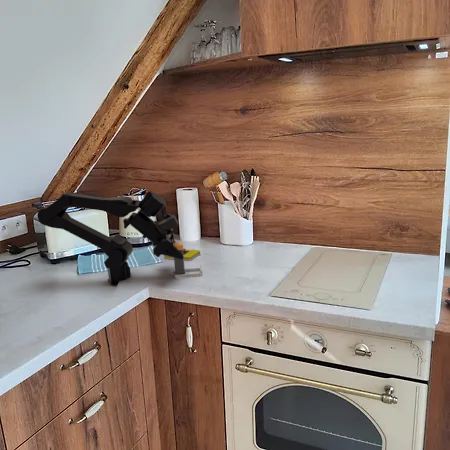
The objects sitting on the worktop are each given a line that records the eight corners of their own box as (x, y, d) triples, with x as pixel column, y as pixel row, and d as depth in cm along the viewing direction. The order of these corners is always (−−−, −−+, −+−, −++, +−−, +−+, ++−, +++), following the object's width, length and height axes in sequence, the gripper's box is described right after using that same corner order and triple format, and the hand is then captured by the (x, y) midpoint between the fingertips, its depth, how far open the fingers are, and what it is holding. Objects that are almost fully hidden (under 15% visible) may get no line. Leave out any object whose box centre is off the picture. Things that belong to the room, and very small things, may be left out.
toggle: (175, 277, 154) (172, 245, 151) (175, 273, 157) (173, 242, 155) (185, 276, 154) (182, 245, 151) (185, 272, 158) (182, 241, 155)
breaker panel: (171, 282, 152) (170, 273, 152) (172, 275, 159) (171, 267, 158) (202, 280, 153) (202, 271, 152) (202, 273, 160) (201, 264, 159)
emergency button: (171, 245, 182) (206, 247, 176) (172, 255, 183) (206, 258, 177) (159, 251, 174) (194, 254, 168) (160, 263, 175) (195, 266, 169)
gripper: (160, 214, 141) (199, 246, 144) (164, 202, 159) (198, 231, 162) (137, 241, 142) (176, 272, 146) (143, 226, 160) (177, 254, 164)
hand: (183, 256), depth 154 cm, fingers closed on toggle, 4 cm apart
